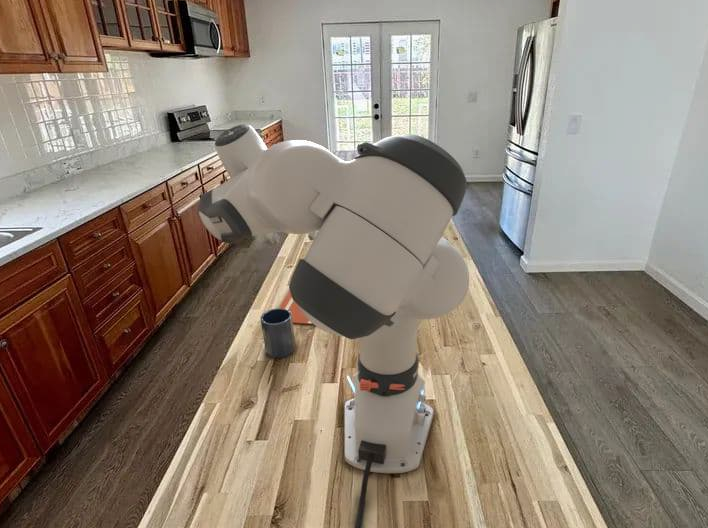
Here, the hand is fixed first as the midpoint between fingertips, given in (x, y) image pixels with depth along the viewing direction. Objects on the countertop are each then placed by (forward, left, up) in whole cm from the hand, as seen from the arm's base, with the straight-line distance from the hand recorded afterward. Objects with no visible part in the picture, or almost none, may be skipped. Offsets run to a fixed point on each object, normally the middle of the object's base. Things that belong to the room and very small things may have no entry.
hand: (295, 239), depth 100 cm
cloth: (+21, +7, -30) cm, 37 cm away
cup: (-1, +7, -30) cm, 31 cm away
